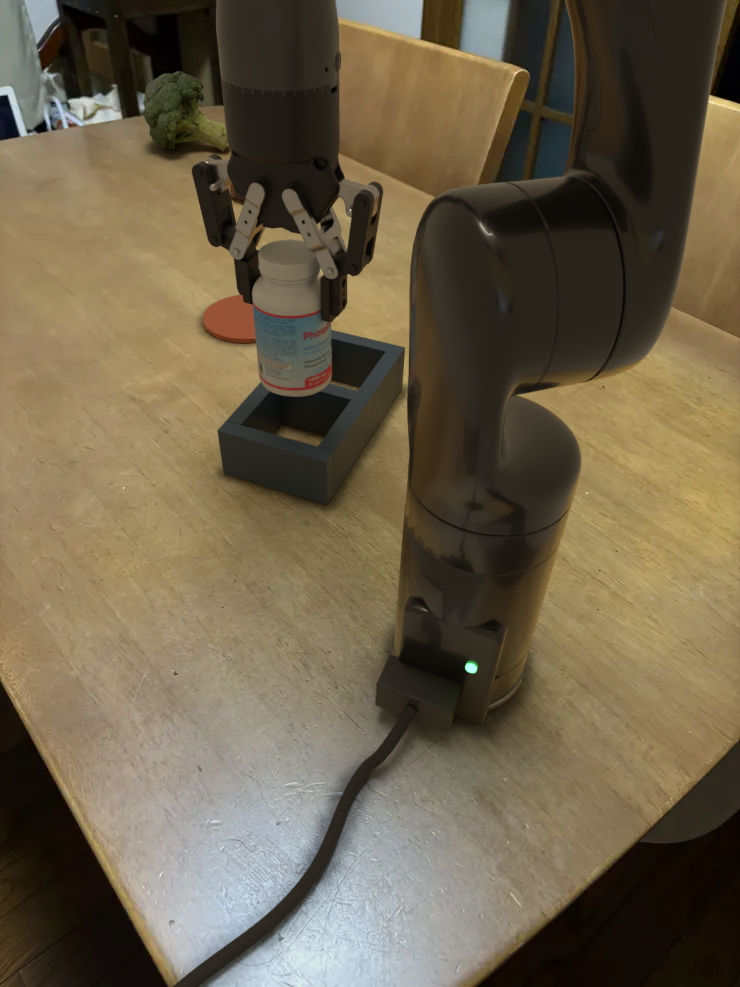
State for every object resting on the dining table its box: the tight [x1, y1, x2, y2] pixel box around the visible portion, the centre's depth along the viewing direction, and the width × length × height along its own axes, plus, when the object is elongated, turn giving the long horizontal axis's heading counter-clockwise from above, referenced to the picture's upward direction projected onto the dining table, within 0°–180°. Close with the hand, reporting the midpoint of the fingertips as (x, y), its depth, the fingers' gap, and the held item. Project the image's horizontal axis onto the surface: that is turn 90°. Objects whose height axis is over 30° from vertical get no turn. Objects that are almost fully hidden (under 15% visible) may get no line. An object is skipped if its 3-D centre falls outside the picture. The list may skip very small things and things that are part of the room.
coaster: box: [202, 294, 256, 344], centre depth 86 cm, size 10×10×1 cm
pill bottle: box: [252, 239, 332, 397], centre depth 59 cm, size 6×6×11 cm
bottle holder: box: [217, 329, 406, 506], centre depth 71 cm, size 19×10×5 cm, turn 158°
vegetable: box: [143, 70, 228, 152], centre depth 124 cm, size 12×13×15 cm
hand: (292, 307), depth 59 cm, fingers closed on pill bottle, 6 cm apart
